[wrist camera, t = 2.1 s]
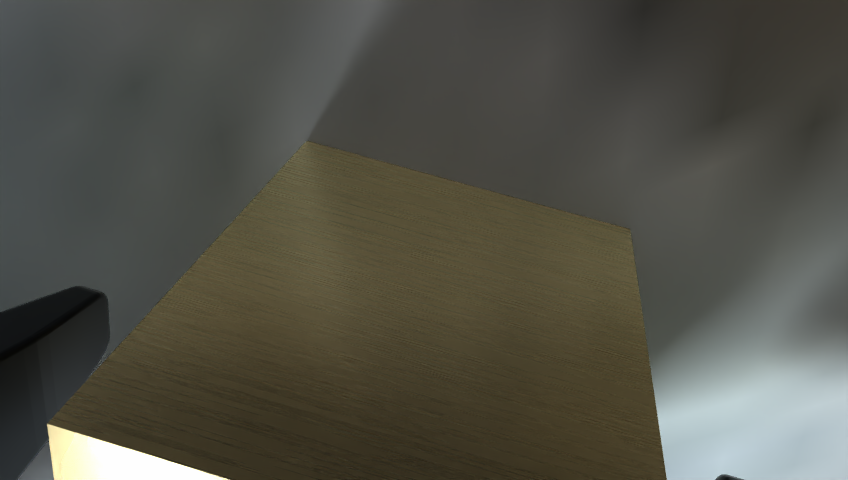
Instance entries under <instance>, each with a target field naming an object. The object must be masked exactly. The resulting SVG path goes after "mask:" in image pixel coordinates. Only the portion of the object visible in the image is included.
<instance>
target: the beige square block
mask: <svg viewBox="0 0 848 480" xmlns="http://www.w3.org/2000/svg"><path fill="white" fill-rule="evenodd" d="M47 428H48V436H49V444H50V452H51V459H52V467H53V475H54V480H667V478H666V472H665V465H664V458H663V451H662V444H661V437H660V430H659V424H658V417H657V410H656V403H655V396H654V389H653V382H652V376H651V369H650V362H649V355H648V348H647V341H646V334H645V328H644V321H643V314H642V307H641V300H640V293H639V287H638V280H637V273H636V266H635V259H634V252H633V245H632V239H631V232H630V229H627V228H624V227H620V226H617V225H613V224H609V223H606V222H602V221H598V220H595V219H591V218H587V217H584V216H580V215H576V214H573V213H569V212H565V211H562V210H558V209H554V208H551V207H547V206H544V205H540V204H536V203H533V202H529V201H525V200H522V199H518V198H514V197H511V196H507V195H503V194H500V193H496V192H492V191H489V190H485V189H481V188H478V187H474V186H471V185H467V184H463V183H460V182H456V181H452V180H449V179H445V178H441V177H438V176H434V175H430V174H427V173H423V172H419V171H416V170H412V169H408V168H405V167H401V166H398V165H394V164H390V163H387V162H383V161H379V160H376V159H372V158H368V157H365V156H361V155H357V154H354V153H350V152H346V151H343V150H339V149H335V148H332V147H328V146H325V145H321V144H317V143H314V142H310V141H306V142H305V143H304V144H303V145H302V146H301V147H300V149H299V150H298V151H297V152H296V153H295V154H294V155H293V156H292V157H291V158H290V159H289V161H288V162H287V163H286V164H285V165H284V166H283V167H282V168H281V169H280V170H279V171H278V172H277V174H276V175H275V176H274V177H273V178H272V179H271V180H270V181H269V182H268V183H267V184H266V186H265V187H264V188H263V189H262V190H261V191H260V192H259V193H258V194H257V195H256V196H255V198H254V199H253V200H252V201H251V202H250V203H249V204H248V205H247V206H246V207H245V208H244V210H243V211H242V212H241V213H240V214H239V215H238V216H237V217H236V218H235V219H234V220H233V222H232V223H231V224H230V225H229V226H228V227H227V228H226V229H225V230H224V231H223V232H222V234H221V235H220V236H219V237H218V238H217V239H216V240H215V241H214V242H213V243H212V244H211V246H210V247H209V248H208V249H207V250H206V251H205V252H204V253H203V254H202V255H201V256H200V258H199V259H198V260H197V261H196V262H195V263H194V264H193V265H192V266H191V267H190V268H189V269H188V271H187V272H186V273H185V274H184V275H183V276H182V277H181V278H180V279H179V280H178V281H177V283H176V284H175V285H174V286H173V287H172V288H171V289H170V290H169V291H168V292H167V293H166V295H165V296H164V297H163V298H162V299H161V300H160V301H159V302H158V303H157V304H156V305H155V307H154V308H153V309H152V310H151V311H150V312H149V313H148V314H147V315H146V316H145V317H144V319H143V320H142V321H141V322H140V323H139V324H138V325H137V326H136V327H135V328H134V329H133V331H132V332H131V333H130V334H129V335H128V336H127V337H126V338H125V339H124V340H123V341H122V343H121V344H120V345H119V346H118V347H117V348H116V349H115V350H114V351H113V352H112V353H111V355H110V356H109V357H108V358H107V359H106V360H105V361H104V362H103V363H102V364H101V365H100V366H99V368H98V369H97V370H96V371H95V372H94V373H93V374H92V375H91V376H90V377H89V378H88V380H87V381H86V382H85V383H84V384H83V385H82V386H81V387H80V388H79V389H78V390H77V392H76V393H75V394H74V395H73V396H72V397H71V398H70V399H69V400H68V401H67V402H66V404H65V405H64V406H63V407H62V408H61V409H60V410H59V411H58V412H57V413H56V414H55V416H54V417H53V418H52V419H51V420H50V421H49V422H48V423H47Z"/></svg>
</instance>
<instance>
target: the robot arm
mask: <svg viewBox="0 0 848 480" xmlns="http://www.w3.org/2000/svg"><path fill="white" fill-rule="evenodd" d="M109 338H110V328H109V310H108V299H107V297H106V295H105V294H104V293H102V292H100V291H97V290H93V289H90V288H87V287H83V286H75V287H71V288H68V289H65V290H62V291H60V292H57V293H54V294H51V295H48V296H45V297H42V298H40V299H37V300H34V301H31V302H28V303H25V304H23V305H20V306H17V307H14V308H11V309H8V310H5V311H3V312H0V480H17V479H18V478H19V476H20V475H21V474H22V473H23V471H24V470H25V469H26V468H27V466H28V465H29V464H30V463H31V461H32V460H33V459H34V458H35V456H36V455H37V454H38V453H39V451H40V450H41V449H42V447H43V446H44V445H45V443H46V442H47V441H48V439H49V436H48V428H47V423H48V422H49V421H50V420H51V419H52V418H53V417H54V416H55V414H56V413H57V412H58V411H59V410H60V409H61V408H62V407H63V406H64V405H65V404H66V402H67V401H68V400H69V399H70V398H71V397H72V396H73V395H74V394H75V393H76V392H77V390H78V389H79V388H80V387H81V386H82V385H83V384H84V383H85V382H86V381H87V379H88V378H89V376H90V374H91V373H92V371H93V370H94V368H95V366H96V365H97V363H98V362H99V360H100V359H101V357H102V355H103V354H104V352H105V350H106V348H107V346H108V343H109ZM715 480H743V479H740V478H737V477H733V476H730V475H720V476H718V477H717V478H716V479H715Z"/></svg>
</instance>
